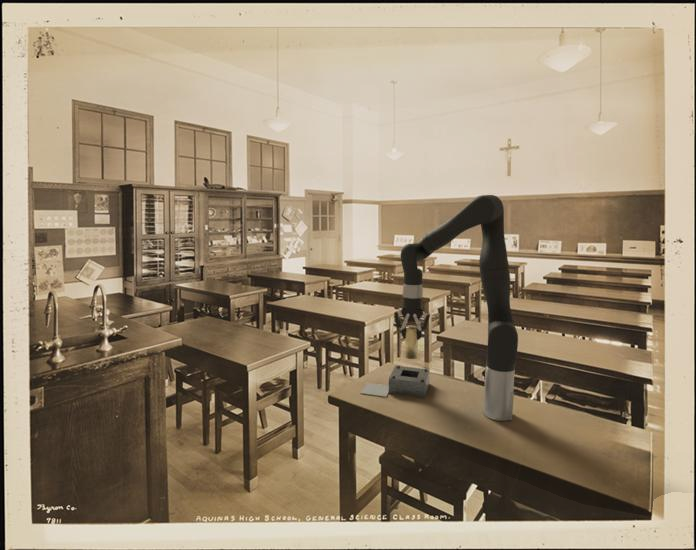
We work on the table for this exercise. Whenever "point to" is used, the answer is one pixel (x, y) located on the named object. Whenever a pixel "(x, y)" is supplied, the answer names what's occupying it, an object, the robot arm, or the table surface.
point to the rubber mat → (375, 390)
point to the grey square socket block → (409, 381)
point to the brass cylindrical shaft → (411, 342)
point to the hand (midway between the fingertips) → (411, 338)
